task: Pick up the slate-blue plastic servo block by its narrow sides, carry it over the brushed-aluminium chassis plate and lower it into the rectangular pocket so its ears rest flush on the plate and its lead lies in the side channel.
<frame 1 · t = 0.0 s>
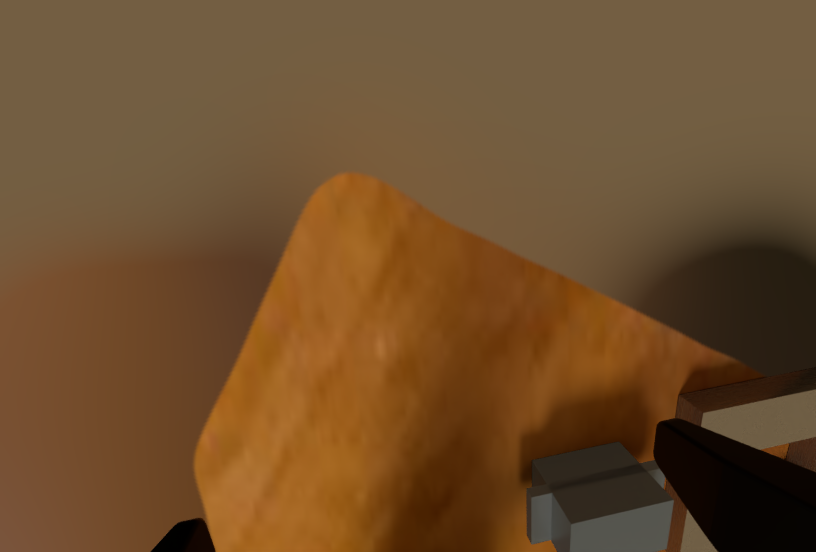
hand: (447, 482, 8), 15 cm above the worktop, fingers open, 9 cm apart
servo: (574, 472, 29), on the worktop
chassis plate: (744, 456, 31), on the worktop
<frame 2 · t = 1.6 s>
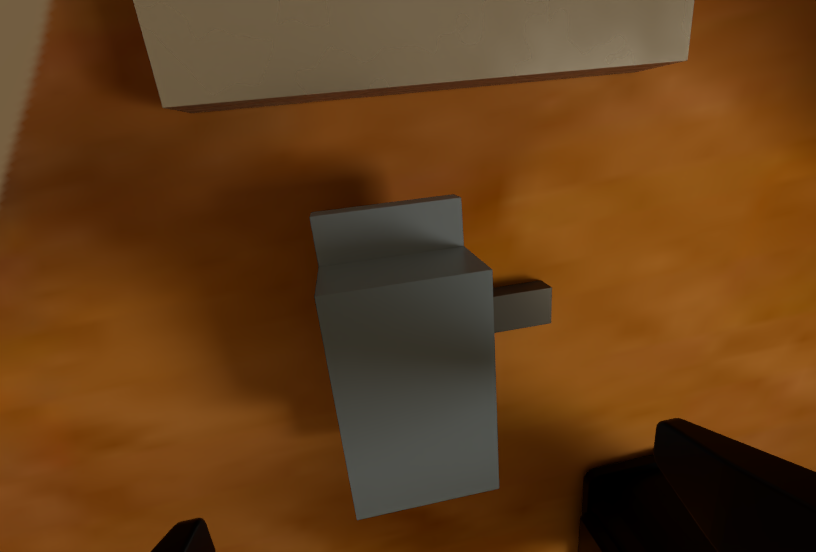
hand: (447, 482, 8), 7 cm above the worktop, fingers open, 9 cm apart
servo: (392, 321, 15), on the worktop
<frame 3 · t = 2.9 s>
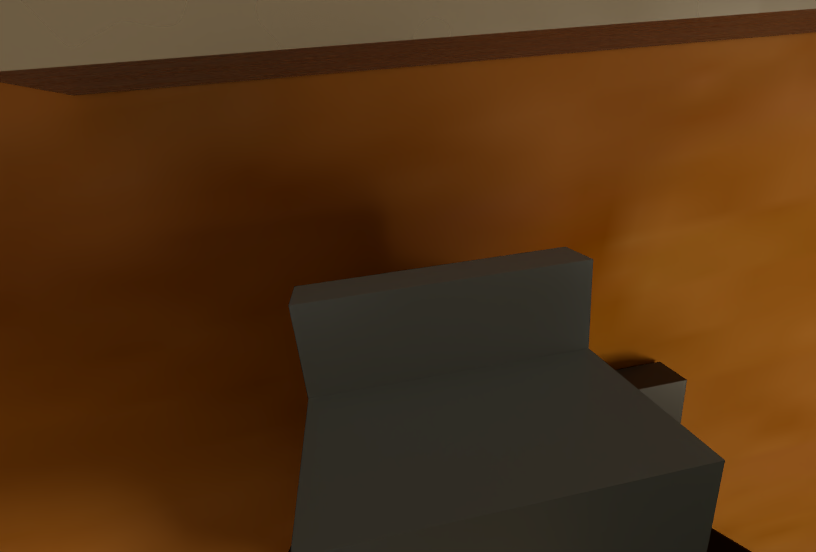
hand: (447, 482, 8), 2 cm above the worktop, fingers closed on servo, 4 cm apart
servo: (430, 429, 9), on the worktop, touching gripper
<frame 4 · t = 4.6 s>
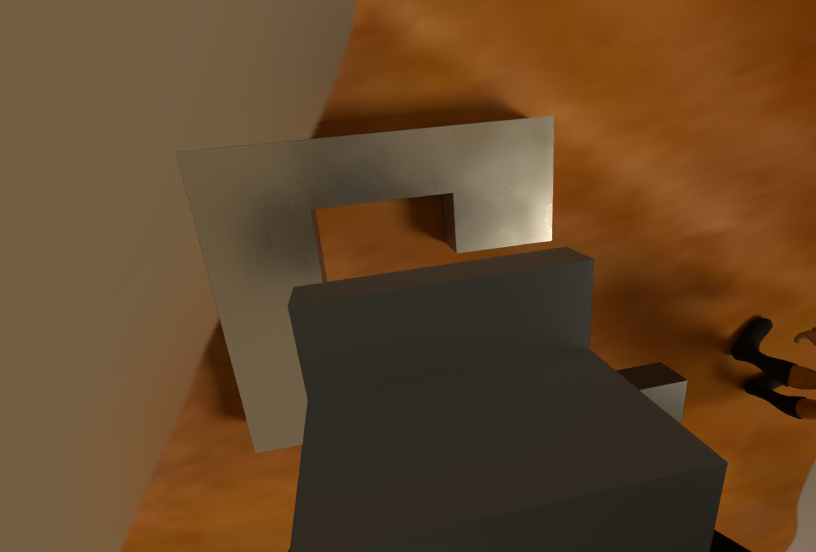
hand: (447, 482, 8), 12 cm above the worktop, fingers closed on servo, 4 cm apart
action figure: (751, 357, 24), on the worktop
servo: (430, 430, 9), point 10 cm above the worktop, touching gripper
chassis plate: (388, 281, 19), on the worktop
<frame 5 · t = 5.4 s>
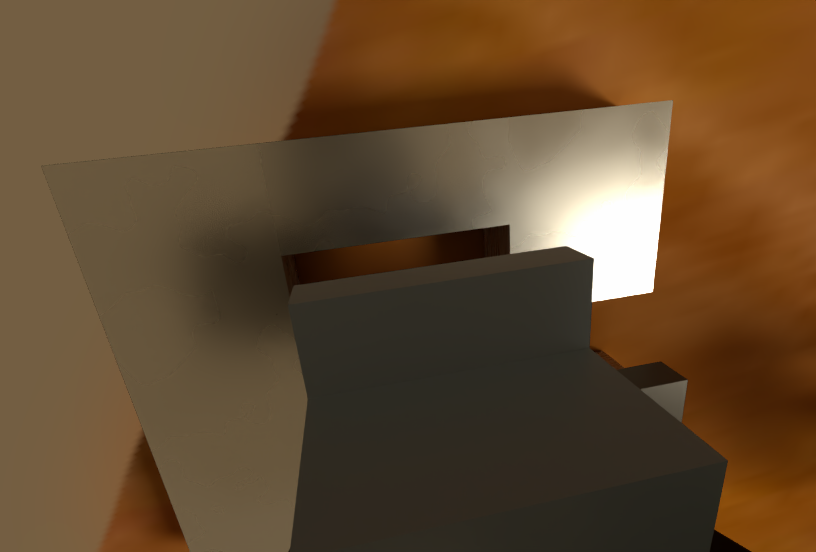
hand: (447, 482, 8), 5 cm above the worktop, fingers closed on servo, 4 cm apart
servo: (430, 429, 9), point 4 cm above the worktop, touching gripper
chassis plate: (403, 346, 13), on the worktop
when the fingers open (3 cm above the worktop, at t = 6.3 s): servo drops 1 cm, resting in chassis plate.
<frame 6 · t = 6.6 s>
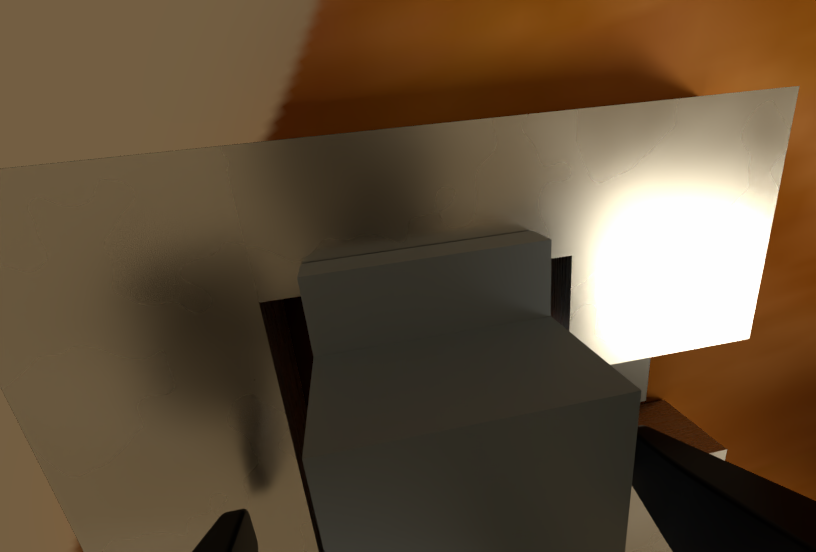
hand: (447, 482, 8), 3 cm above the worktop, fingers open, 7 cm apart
servo: (421, 399, 10), resting in chassis plate
chassis plate: (421, 400, 10), on the worktop
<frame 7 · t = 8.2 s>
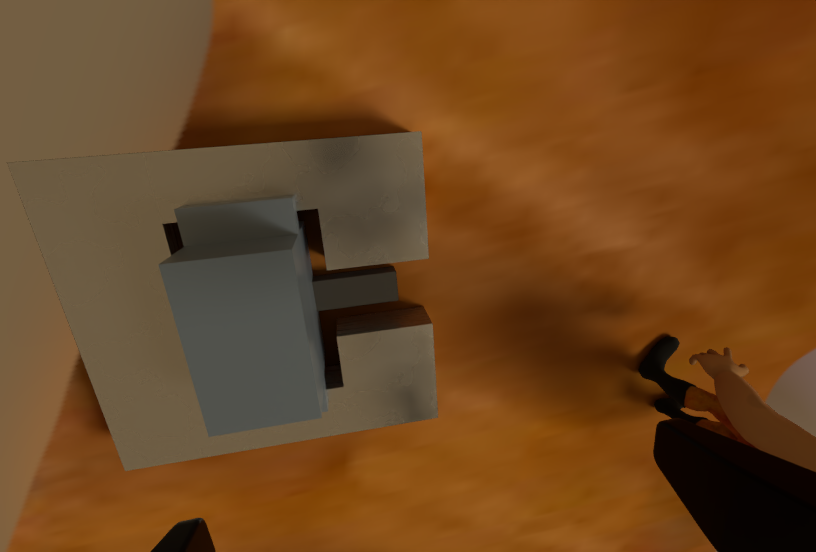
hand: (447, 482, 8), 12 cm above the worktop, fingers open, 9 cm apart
action figure: (661, 375, 24), on the worktop
servo: (270, 295, 18), resting in chassis plate
chassis plate: (270, 296, 18), on the worktop
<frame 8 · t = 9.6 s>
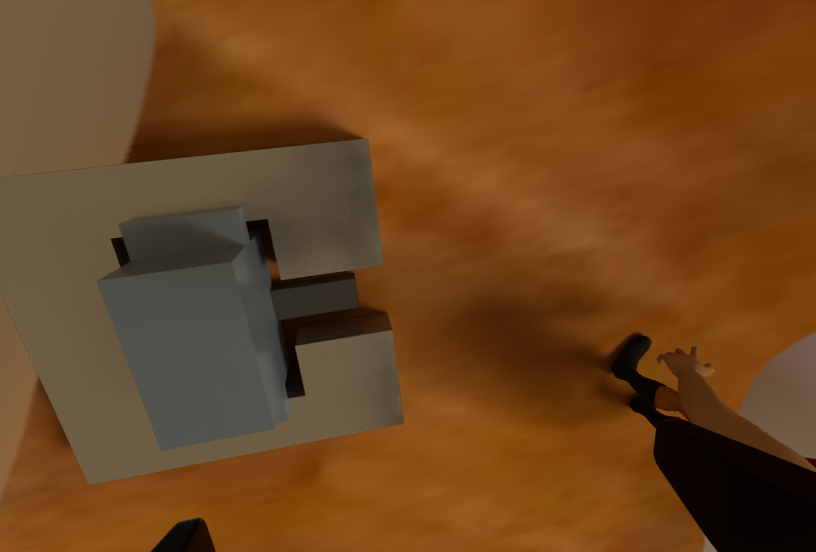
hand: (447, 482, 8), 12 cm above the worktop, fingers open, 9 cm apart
action figure: (636, 374, 24), on the worktop
servo: (231, 306, 18), resting in chassis plate
chassis plate: (230, 306, 18), on the worktop
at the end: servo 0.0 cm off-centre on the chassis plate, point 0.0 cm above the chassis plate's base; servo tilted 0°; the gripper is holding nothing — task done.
